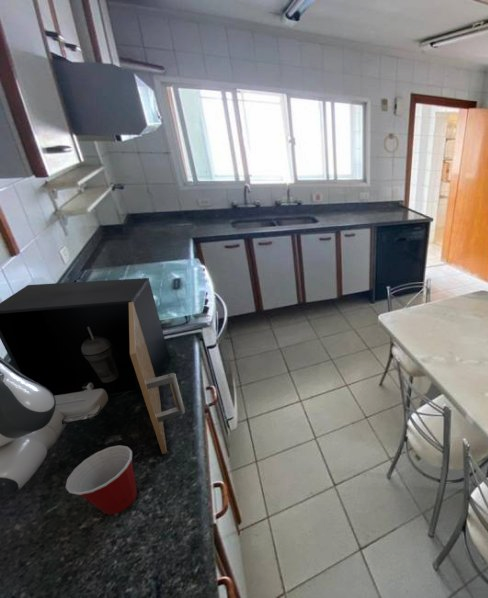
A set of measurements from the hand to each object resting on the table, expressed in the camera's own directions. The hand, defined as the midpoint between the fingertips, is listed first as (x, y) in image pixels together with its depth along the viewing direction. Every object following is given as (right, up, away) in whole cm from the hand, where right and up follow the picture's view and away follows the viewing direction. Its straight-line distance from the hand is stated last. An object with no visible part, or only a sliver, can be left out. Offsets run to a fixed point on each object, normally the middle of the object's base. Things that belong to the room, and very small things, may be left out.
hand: (66, 388), depth 85 cm
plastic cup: (+24, -22, -12) cm, 35 cm away
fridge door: (+20, -11, +11) cm, 25 cm away
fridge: (-9, -4, +23) cm, 25 cm away
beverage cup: (-9, -3, +23) cm, 24 cm away
